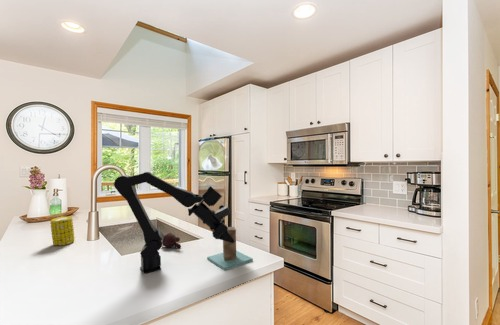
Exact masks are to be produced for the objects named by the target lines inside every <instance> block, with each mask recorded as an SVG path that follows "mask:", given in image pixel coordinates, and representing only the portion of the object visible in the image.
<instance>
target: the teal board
mask: <svg viewBox="0 0 500 325" xmlns="http://www.w3.org/2000/svg"><path fill="white" fill-rule="evenodd" d="M206 259H207V260H208V261H209V262H210V263H213V265H215V266H217V267H219V268H220V269H222V270H223V271H226V270H229V269H232V268H235V267H239V266H241V265H244V264H249V263H251V262H253V261H254V259H253V257H250V256H248V255H247V254H244V253H243V252H240V251H238V250H236V259H235V260H225V261H224V257H223V252H220V253H216V254H213V255H209V256H206Z"/></svg>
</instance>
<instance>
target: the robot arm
mask: <svg viewBox="0 0 500 325" xmlns="http://www.w3.org/2000/svg"><path fill="white" fill-rule="evenodd" d="M143 183H146V184H148V185H150V186H152V187H154V188H156V189H158V190H160V191H161V192H163V193H166V194H168V195H169V196H171V197H172V198H174V199H175V201H177V202H178V203H180V204H181V205H182V206H184V208H187V212H188V217H190V216H191V215H193V214H194V215H195V216H196V217H197V218H198V219H199V220H200V221H201V222H202V224H204V225H206V226H207V227H208V228H209V230H211V231H212V237H213V238H214V239H215V240H220V241H223V240H224V241H227V242H231V243H234V242H235V241H234V239H233V238H232V237H231V235H230V234H229V233H228V227H229V226H228V225H227V224H225V218H226V217H227V216H230V215H231V214H232V212H231V210H230V208H229V207H228V205H225V206H224V205H223V204H220V205H219V206H218V209H217V210H216V211H215V210H214V209H210V207H214V206H215V205H217V203H218V202H219V201H220V200H221V199H222V197H223V195H222V194H220V193H219V191H217V190H216V189H214V188H213V187H212V186H211V185H209V187H207V189H206V190H205V191H204V192H203V194H200V193H199V194H195V193H194V192H193V191H190V190H187V189H183V188H179V187H177V186H175V185H173V184H171V183H170V182H167V181H166V180H164V179H163V178H160V177H159V176H157V175H154V174H152V172H150V171H144V172H142V173H140V174H135V175H128V174H123V175H121V176H117V178H115V179H114V182H113V185H114V186H113V187H114V188H115V189H116V191H117V192H118V194H119V195H120V196H122V198H124V199H125V201H126V202H127V203H128V206H129V208H130V210H131V212H132V214H133V215H134V217H135V219H136V222H137V223H138V225H139V227H140V229H141V231H142V235H143V240H144V243H145V244H144V245H143V247H142V249H141V251H140V252H139V254H140V267H139V269H140V270H141V271H142V274H148V273H151V272H155V271H158V270H161V269H162V267H161V265H162V261H161V260H162V259H161V255H160V252H159V251H160V249H161V248H162V246H163V236H164V232H163V233H162V231H161V228H160V226H158V227H156V226H154V224H153V223H152V220H151V219H150V217H149V215H148V213H147V212H146V210H145V207H144V206H143V204H142V202H141V200H140V197H139V196H138V193H137V187H136V186H137V185H140V184H143Z"/></svg>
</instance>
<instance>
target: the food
mask: <svg viewBox="0 0 500 325" xmlns="http://www.w3.org/2000/svg"><path fill="white" fill-rule="evenodd" d="M50 230H51V240H52V245H54V246H65V245H69V244H72V243H74V242H75V241H76V240H75V238H76V237H75V228H74V222H73V217H72V216H62V215H60V217H59V216H57V217H55V218H54V217H53V218H52V219H50Z"/></svg>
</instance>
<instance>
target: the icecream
mask: <svg viewBox="0 0 500 325" xmlns="http://www.w3.org/2000/svg"><path fill="white" fill-rule="evenodd" d="M180 241H181V239H180V237H178V236H177V237H176V235H175V234H173V233H171V232H169V233H167V234H165V235H164V236H163V243H162V246H164V247H165V248H172V247H173V246H174V247H175V248H177V249H181V247H182V246H181V244H180V243H179V242H180Z"/></svg>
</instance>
